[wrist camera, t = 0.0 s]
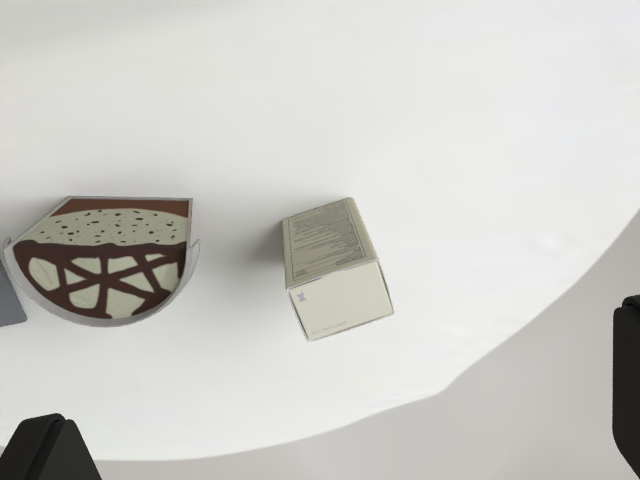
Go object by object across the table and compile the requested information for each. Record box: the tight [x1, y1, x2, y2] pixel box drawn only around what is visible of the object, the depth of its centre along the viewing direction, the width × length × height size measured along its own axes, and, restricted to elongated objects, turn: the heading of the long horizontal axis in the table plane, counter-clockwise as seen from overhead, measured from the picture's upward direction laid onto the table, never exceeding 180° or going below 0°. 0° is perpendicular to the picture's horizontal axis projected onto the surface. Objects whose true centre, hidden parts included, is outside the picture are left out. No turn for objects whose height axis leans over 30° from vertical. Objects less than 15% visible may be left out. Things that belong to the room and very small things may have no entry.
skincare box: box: [282, 198, 395, 342], centre depth 43 cm, size 6×4×12 cm
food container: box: [3, 196, 200, 327], centre depth 43 cm, size 12×6×10 cm, turn 88°
